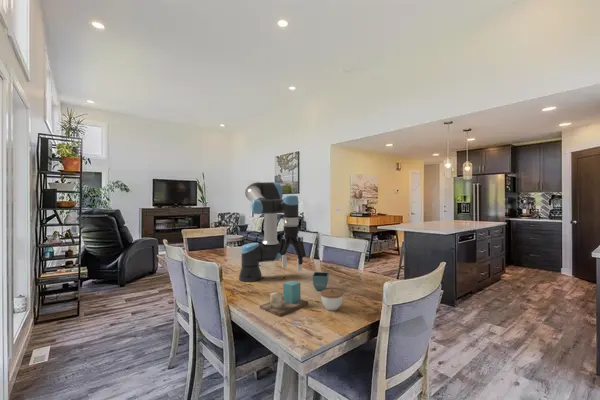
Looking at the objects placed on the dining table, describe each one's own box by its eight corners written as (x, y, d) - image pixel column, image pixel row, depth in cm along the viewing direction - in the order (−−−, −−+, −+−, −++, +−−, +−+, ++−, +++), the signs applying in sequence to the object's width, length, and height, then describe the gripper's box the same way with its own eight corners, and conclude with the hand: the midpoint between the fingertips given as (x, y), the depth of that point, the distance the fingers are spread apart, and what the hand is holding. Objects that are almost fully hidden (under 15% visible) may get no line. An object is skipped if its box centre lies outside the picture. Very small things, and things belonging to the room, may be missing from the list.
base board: (259, 308, 143) (259, 305, 143) (288, 298, 158) (288, 295, 158) (279, 316, 133) (279, 313, 133) (308, 304, 148) (308, 301, 148)
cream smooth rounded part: (268, 309, 141) (267, 294, 141) (276, 306, 145) (276, 291, 145) (276, 312, 138) (275, 297, 137) (284, 309, 142) (284, 294, 142)
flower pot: (327, 292, 167) (327, 276, 167) (312, 291, 168) (312, 275, 168) (329, 287, 175) (328, 272, 175) (314, 286, 177) (314, 271, 177)
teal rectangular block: (283, 300, 149) (283, 283, 149) (291, 297, 154) (291, 280, 154) (292, 303, 145) (291, 285, 145) (300, 300, 150) (300, 282, 150)
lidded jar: (319, 304, 148) (319, 286, 148) (340, 303, 149) (340, 285, 149) (322, 312, 137) (322, 293, 137) (345, 311, 138) (345, 292, 138)
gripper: (270, 224, 154) (271, 266, 154) (302, 227, 139) (303, 274, 139) (281, 223, 160) (281, 264, 160) (312, 226, 144) (313, 271, 144)
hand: (291, 269), depth 149 cm, fingers open, 10 cm apart
